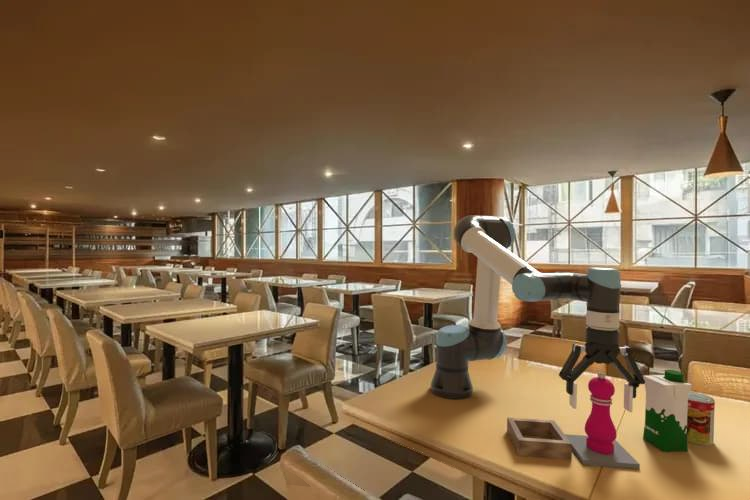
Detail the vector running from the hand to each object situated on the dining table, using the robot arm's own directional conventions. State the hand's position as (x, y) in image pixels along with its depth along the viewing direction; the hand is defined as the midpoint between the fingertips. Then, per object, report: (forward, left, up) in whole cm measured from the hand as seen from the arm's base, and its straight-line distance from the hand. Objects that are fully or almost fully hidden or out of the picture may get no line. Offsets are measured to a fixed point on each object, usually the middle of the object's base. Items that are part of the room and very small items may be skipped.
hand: (600, 408), depth 101 cm
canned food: (+31, +12, -12) cm, 35 cm away
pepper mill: (0, 0, -11) cm, 11 cm away
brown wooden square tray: (-15, +2, -12) cm, 19 cm away
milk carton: (+20, +7, -12) cm, 24 cm away
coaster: (0, 0, -12) cm, 12 cm away
